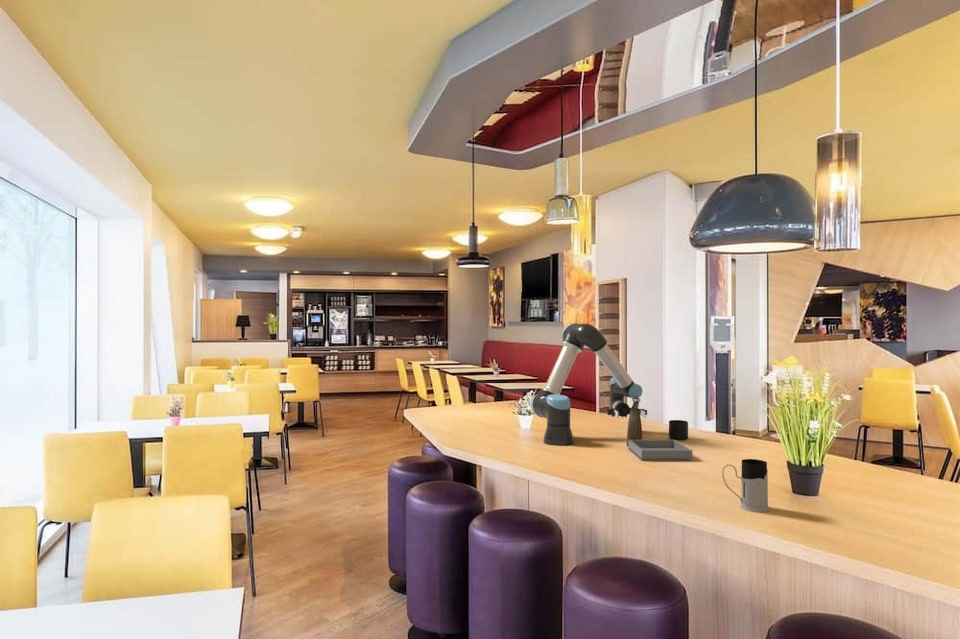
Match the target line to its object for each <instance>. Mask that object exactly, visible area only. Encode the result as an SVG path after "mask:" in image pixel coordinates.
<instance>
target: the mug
mask: <svg viewBox="0 0 960 639" xmlns="http://www.w3.org/2000/svg"><path fill="white" fill-rule="evenodd" d="M688 439H689V421H687V420H682V419H680V420H679V419H673V420H668V440H676V441H678V442H679V441H680V442H681V441H688Z"/></svg>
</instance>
